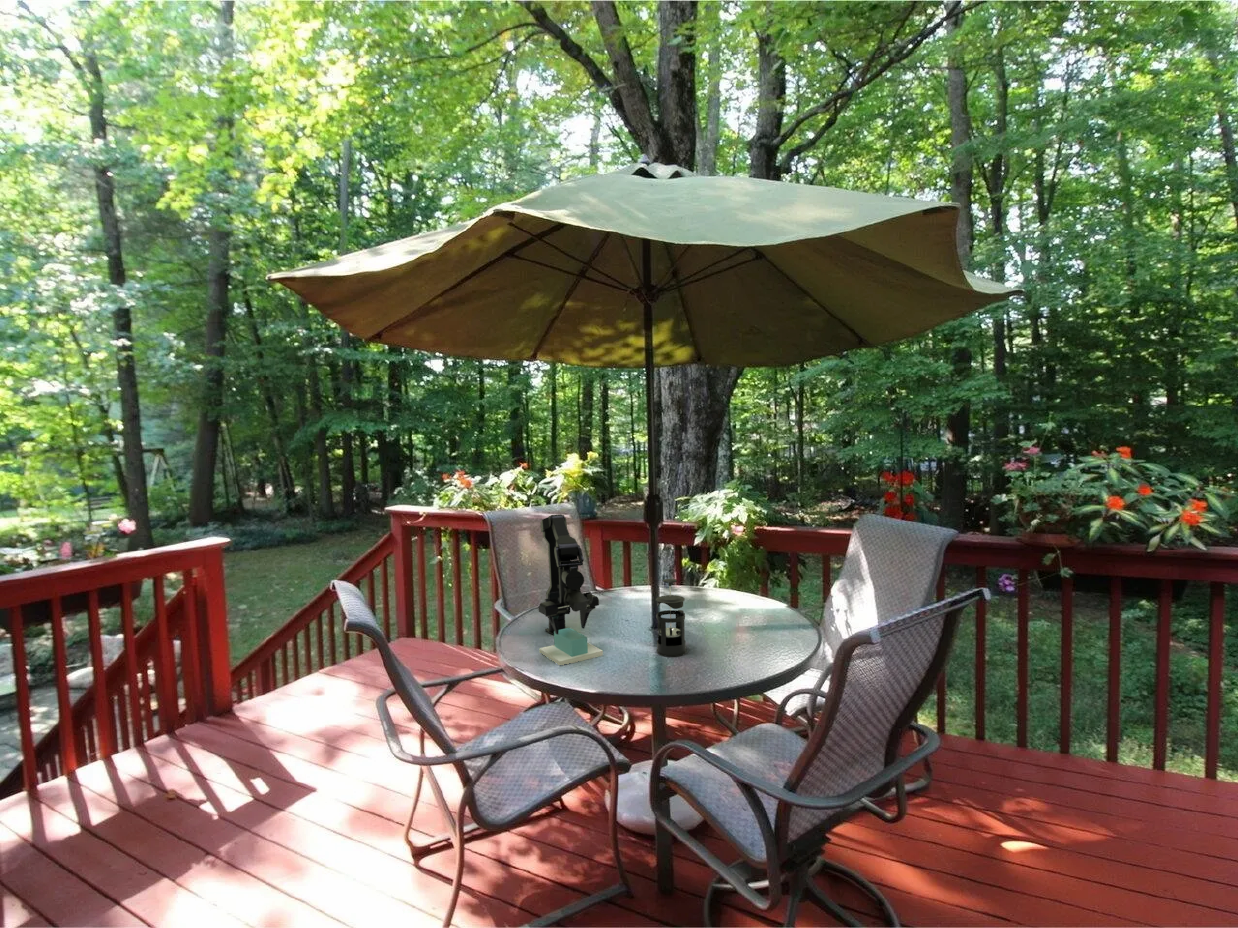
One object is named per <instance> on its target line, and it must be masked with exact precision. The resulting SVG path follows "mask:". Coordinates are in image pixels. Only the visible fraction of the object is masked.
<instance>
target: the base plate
mask: <svg viewBox="0 0 1238 928" xmlns="http://www.w3.org/2000/svg"><path fill="white" fill-rule="evenodd" d="M587 643H588V653H585V654H581V655H577V656H573V657H571V656H570V655H568V654H566V653H565V652H563V651H561V650H560V649H558V648H556V647H555V646H554V644H552V645H548V646H544V647H543V646H542V647H540V648H539V654H540V653H542V654H543V655H545V656H546V657H548V658H549V659H548V658H547V659H548V660H550V659H551V660H552V661H551V660H550V661H551V662H553V661H554V662H555V663H554V662H553V663H554V664H556V663H557V664H558V665H557V664H556V665H557V666H559V665H563V666H565V665H564V664H567V665H570V664H569V663H571V664H574V663H578V661H579V662H583V661H587V660H591V659H594V658H595V659H596V658H597V657H603V656H604V651H603V650H602V649H600V648H599V647H596V646H595V645H593V644H591V643H590V642H588V641H587ZM542 654H541V655H542ZM543 655H542V656H543ZM545 656H544V657H545ZM546 657H545V658H546Z"/></svg>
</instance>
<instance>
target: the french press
mask: <svg viewBox="0 0 1238 928" xmlns="http://www.w3.org/2000/svg"><path fill="white" fill-rule="evenodd" d="M662 581H663V582H664V583H668V587H669V589H668V590H669V595H667V594H666V595H665V594H664V595H660V596H656V598H655V601H656V602H657V603H656V604H657V607H659V606H660V605H661V604H664V605H667V606H668V607H669V609H668V610H667V609H666V610H661V611H658V612H657V613H656V615H655V617H656V621H657V640H656V654H657V655H658V656H661V657H666V658H677V657H681V656H684V655H686V653H687V651H688V649H687V648H686V647H687V645H686V643H687V642H686V637H685V636H686V635H685V632H686V631H685V620H686V613H685V611H684V610H681V608H683V607H684V602H685V597H684V596H681V595H674V594H672V591H671V590H672V588H671V587H672V583H676V582H677V579H675V578H664V579H663V580H662ZM664 615H665V616H666V615H669V618H666V617H662V616H664ZM672 615H675V617H673V618H672ZM668 623H669V625H670V627H667V624H668ZM672 623H673V624H674V623H675V627H672Z"/></svg>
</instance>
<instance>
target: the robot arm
mask: <svg viewBox="0 0 1238 928" xmlns="http://www.w3.org/2000/svg"><path fill="white" fill-rule="evenodd" d="M540 532H541V533H542V537H543V539H544V541H545V542H546V543H547V550H548V551H547V552H548V553H547V555H548V556H547V558H548V575H549V587H548V589H547V591H546V593H545V598H544V601H543V602H540V603H539V605H538V613H541V614H542V615H544V616H545V617H547V619H548V628H545V629H544V630H545V632H547V633H549V634H550V635H553V636H554V631H555V633H556V634H558V632H559V630H561V629H565V628H566V615H570V613H571V610H572V611H573V612H576V613H577V612H579V619H580V626H581V629H583V630H584V629H585V628H586V624H587V622H588V618H589V615H590V613H591V612H592V611H593V610H595V609H596V608H597V607H598V606H600V599H599V597H598V596H597V595H594V594H593V593H592V592H591V591H587V592H582V591H581V588H582V587H583V585H584V582H585V577H584V574H583V573H582V572H581V571H580V570H579V567H580V566H584V564H583V563H584V554H583V550H582V548H581V545H579V543H578V542H577V539H576V538H575V537H571V536H570V533H569V530H568V523H567V518H566V517H565V515H564V514H562V513H560V514H550V515H548V517H546V518H543V519H541V522H540Z"/></svg>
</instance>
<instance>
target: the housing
mask: <svg viewBox="0 0 1238 928" xmlns="http://www.w3.org/2000/svg"><path fill="white" fill-rule="evenodd" d="M553 638H554V639H553V640H554V644H553V645H554V646H555V647H556V648H558V649H560V650H561V651H563V652H565V653H566V654H568V655H570V656H571V657H573V656H577V655H581V654H585V653H588V643H589V642H588V636H586V635H584V634H582V633H580V632H578V630H576V629H575V630H574V629H573V628H571V627H565V629H561V630H559V632H558V634H556V633H555V631H554V635H553ZM587 642H588V643H587Z"/></svg>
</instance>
